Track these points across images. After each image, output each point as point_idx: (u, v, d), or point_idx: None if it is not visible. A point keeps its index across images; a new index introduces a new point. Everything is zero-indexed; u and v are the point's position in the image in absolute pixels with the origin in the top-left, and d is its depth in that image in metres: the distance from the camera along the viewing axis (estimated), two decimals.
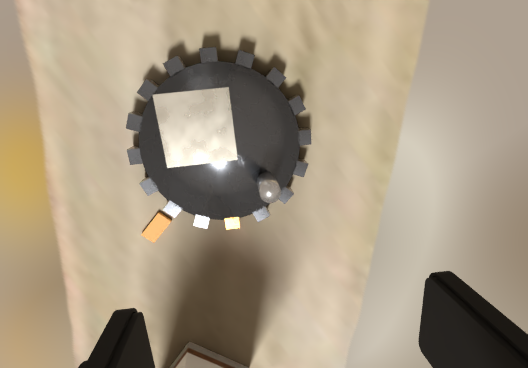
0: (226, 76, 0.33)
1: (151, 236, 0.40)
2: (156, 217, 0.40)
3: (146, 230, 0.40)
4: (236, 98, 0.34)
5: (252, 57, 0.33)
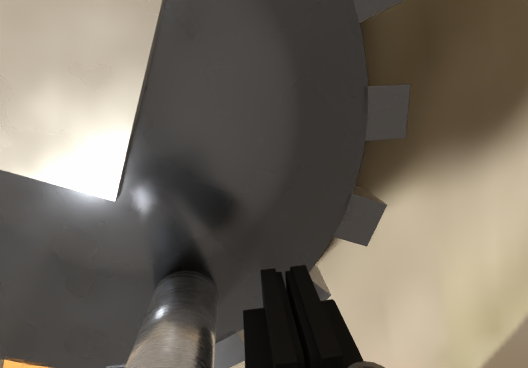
0: None
1: None
2: None
3: None
4: None
5: None
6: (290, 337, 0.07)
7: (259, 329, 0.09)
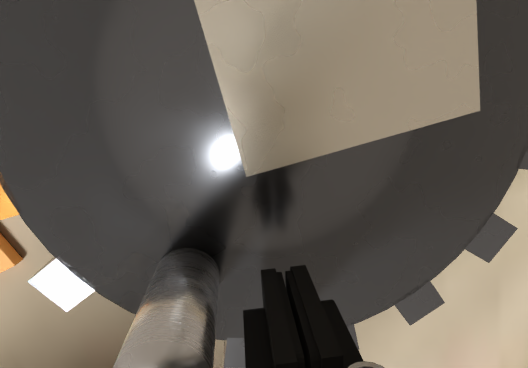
0: (504, 99, 0.11)
1: None
2: None
3: None
4: (438, 140, 0.11)
5: None
6: (290, 337, 0.07)
7: (260, 329, 0.09)
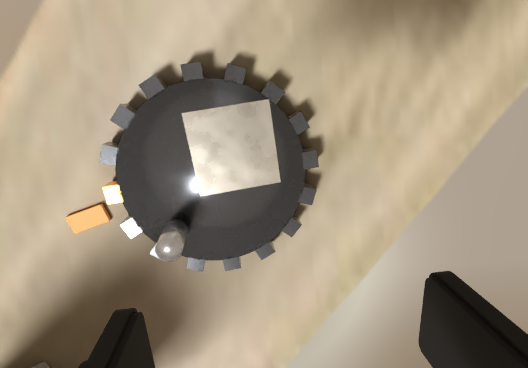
0: (290, 178, 0.31)
1: (76, 225, 0.32)
2: (95, 208, 0.32)
3: (74, 216, 0.32)
4: (268, 190, 0.32)
5: (309, 203, 0.32)
6: None
7: None
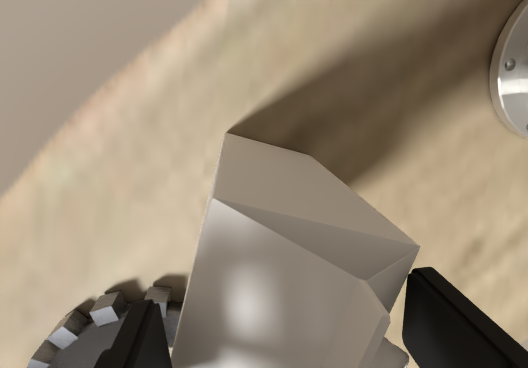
0: None
1: None
2: None
3: None
4: None
5: None
6: None
7: None
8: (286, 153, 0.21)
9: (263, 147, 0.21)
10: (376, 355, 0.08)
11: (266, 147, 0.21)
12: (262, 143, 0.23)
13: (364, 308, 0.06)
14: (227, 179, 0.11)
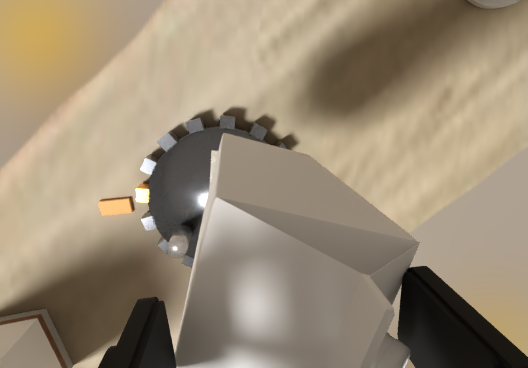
0: None
1: (104, 209, 0.40)
2: (123, 200, 0.40)
3: (105, 202, 0.40)
4: None
5: None
6: None
7: None
8: (284, 152, 0.21)
9: (262, 147, 0.21)
10: (378, 349, 0.08)
11: (264, 147, 0.21)
12: (260, 143, 0.23)
13: (368, 302, 0.06)
14: (229, 178, 0.11)
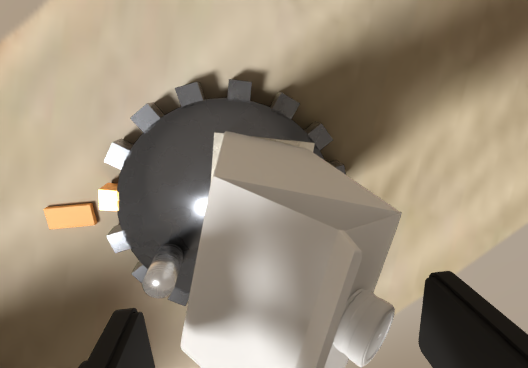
0: None
1: (54, 220, 0.27)
2: (82, 207, 0.27)
3: (55, 210, 0.27)
4: None
5: None
6: None
7: None
8: (283, 146, 0.22)
9: (261, 142, 0.22)
10: (363, 305, 0.09)
11: (264, 142, 0.22)
12: (260, 139, 0.24)
13: (342, 251, 0.07)
14: (226, 164, 0.12)
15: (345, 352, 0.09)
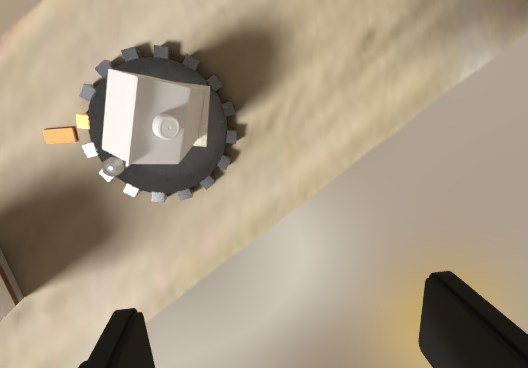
0: (214, 146, 0.44)
1: (49, 138, 0.43)
2: (67, 129, 0.43)
3: (50, 130, 0.43)
4: (196, 150, 0.44)
5: (224, 168, 0.45)
6: None
7: None
8: None
9: None
10: (162, 114, 0.25)
11: None
12: None
13: None
14: (122, 71, 0.28)
15: (155, 132, 0.25)
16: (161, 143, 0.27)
